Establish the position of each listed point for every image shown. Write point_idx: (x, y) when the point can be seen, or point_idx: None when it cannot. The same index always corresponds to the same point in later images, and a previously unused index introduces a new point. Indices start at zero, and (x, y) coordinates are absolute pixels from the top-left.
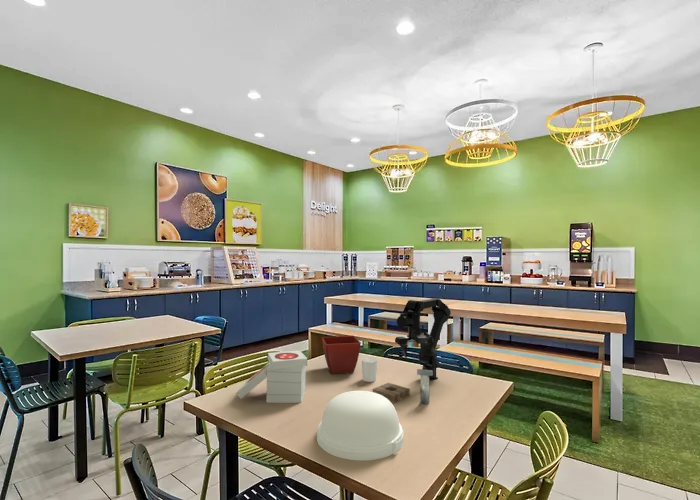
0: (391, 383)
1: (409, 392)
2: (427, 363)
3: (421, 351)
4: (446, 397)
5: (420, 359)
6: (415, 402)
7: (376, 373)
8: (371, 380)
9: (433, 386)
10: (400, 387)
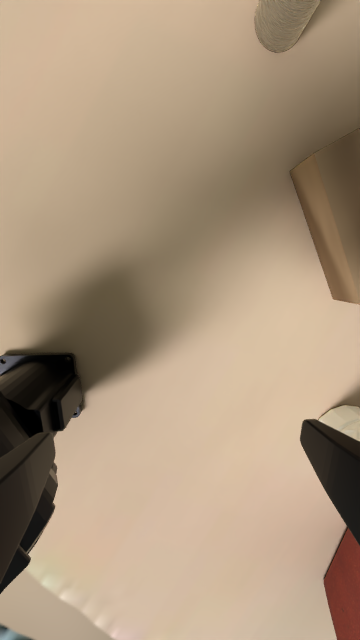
0: (355, 283)
1: (303, 162)
2: (12, 416)
3: (8, 532)
4: (102, 45)
5: (49, 482)
6: (323, 52)
7: None
8: (353, 409)
9: (87, 255)
10: (351, 198)
